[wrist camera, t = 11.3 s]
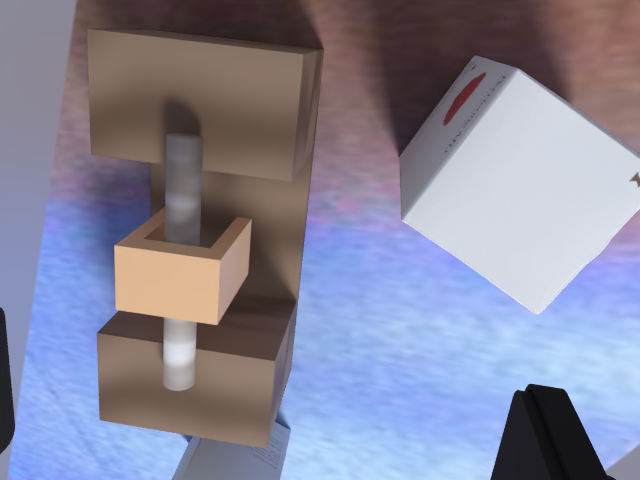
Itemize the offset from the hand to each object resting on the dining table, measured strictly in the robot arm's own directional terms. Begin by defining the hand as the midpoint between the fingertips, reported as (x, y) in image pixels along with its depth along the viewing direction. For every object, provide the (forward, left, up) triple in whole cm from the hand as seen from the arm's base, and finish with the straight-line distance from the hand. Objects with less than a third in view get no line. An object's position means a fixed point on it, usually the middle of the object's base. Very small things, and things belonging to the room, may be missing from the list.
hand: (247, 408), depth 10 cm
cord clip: (+8, -9, -27) cm, 30 cm away
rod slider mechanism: (+8, -9, -33) cm, 35 cm away
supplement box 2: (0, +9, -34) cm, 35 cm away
